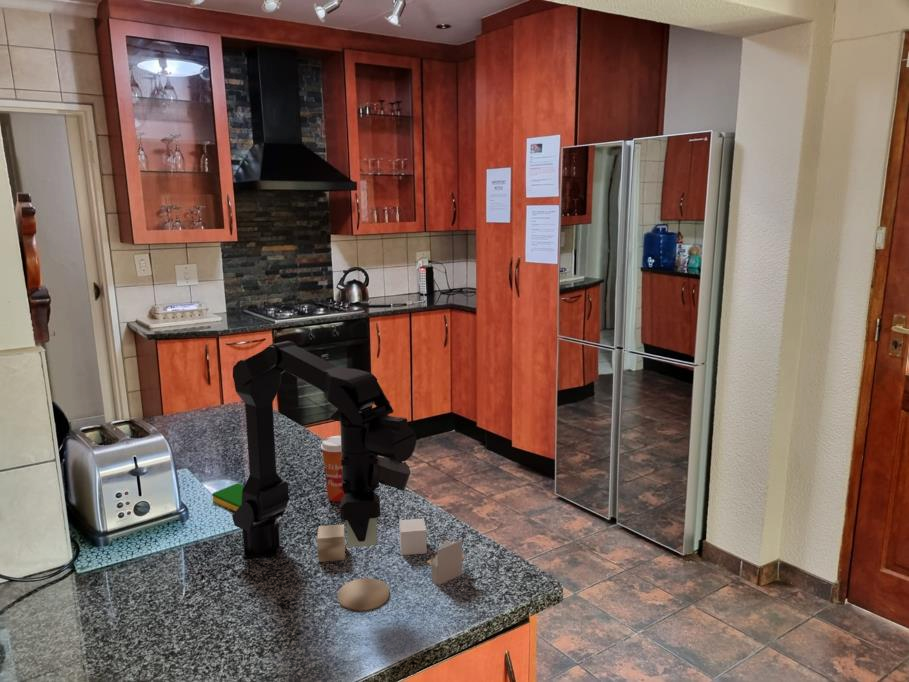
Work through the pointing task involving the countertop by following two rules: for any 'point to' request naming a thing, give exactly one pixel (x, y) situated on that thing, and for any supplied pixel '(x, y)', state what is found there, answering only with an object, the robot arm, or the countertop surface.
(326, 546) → the maple block
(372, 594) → the coaster
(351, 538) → the sage block
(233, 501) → the dish sponge
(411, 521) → the offwhite block
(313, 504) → the countertop surface
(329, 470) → the paper cup
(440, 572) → the architectural model
